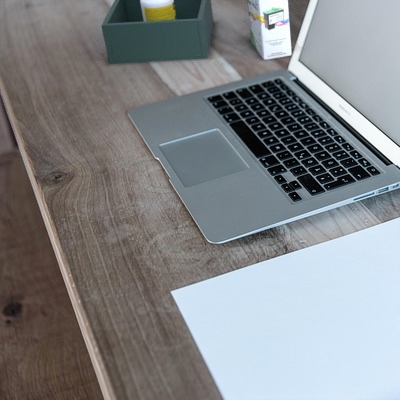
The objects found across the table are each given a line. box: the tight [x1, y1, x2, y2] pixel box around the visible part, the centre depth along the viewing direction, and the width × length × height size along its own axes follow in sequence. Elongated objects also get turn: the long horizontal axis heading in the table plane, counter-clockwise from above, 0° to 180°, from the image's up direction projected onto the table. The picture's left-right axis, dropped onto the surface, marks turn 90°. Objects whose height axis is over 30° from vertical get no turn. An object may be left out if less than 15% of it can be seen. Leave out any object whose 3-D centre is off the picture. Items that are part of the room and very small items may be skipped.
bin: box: [101, 0, 215, 65], centre depth 118 cm, size 16×16×7 cm
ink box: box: [246, 0, 293, 60], centre depth 113 cm, size 8×5×12 cm, turn 19°
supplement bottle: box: [140, 0, 177, 21], centre depth 117 cm, size 5×5×10 cm
